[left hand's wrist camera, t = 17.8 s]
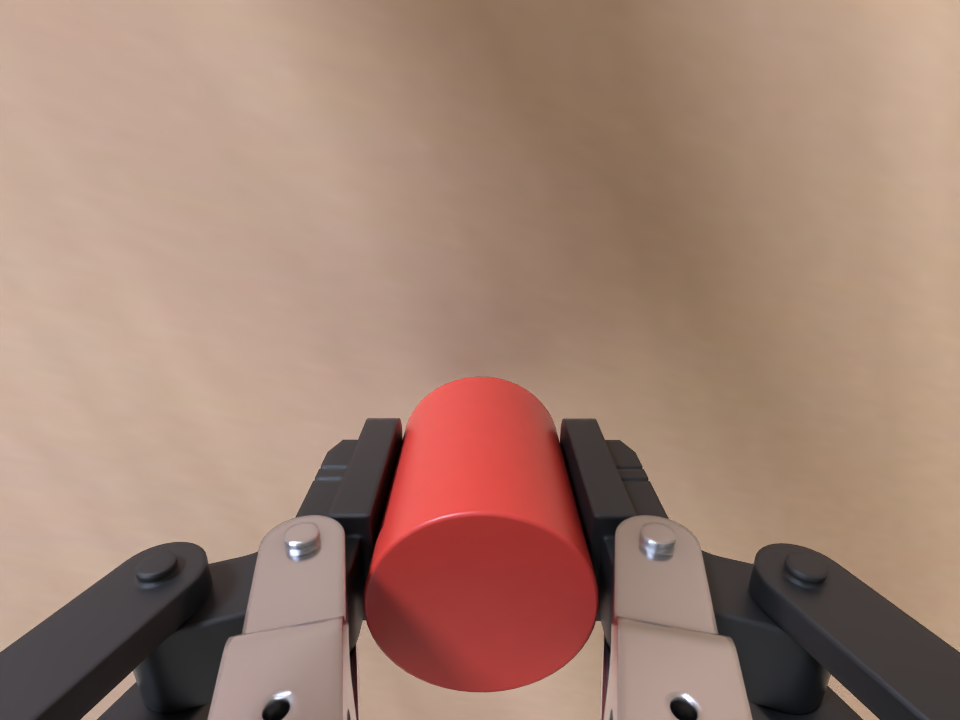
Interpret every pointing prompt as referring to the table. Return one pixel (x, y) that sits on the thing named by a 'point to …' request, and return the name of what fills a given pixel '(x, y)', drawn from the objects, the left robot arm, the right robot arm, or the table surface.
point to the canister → (481, 545)
